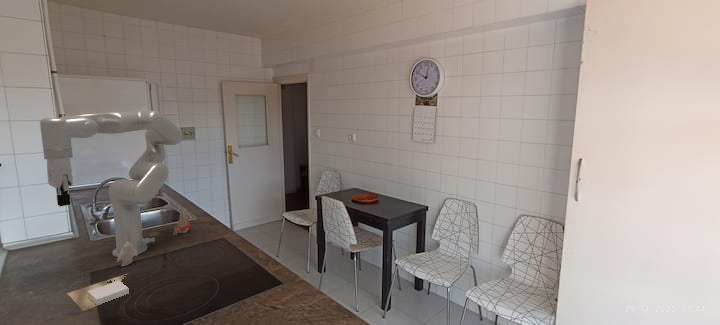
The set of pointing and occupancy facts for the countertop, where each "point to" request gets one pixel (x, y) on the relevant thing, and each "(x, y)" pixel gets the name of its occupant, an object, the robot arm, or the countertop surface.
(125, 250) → the arrowhead
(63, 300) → the countertop surface
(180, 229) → the figurine
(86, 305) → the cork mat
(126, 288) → the tile
